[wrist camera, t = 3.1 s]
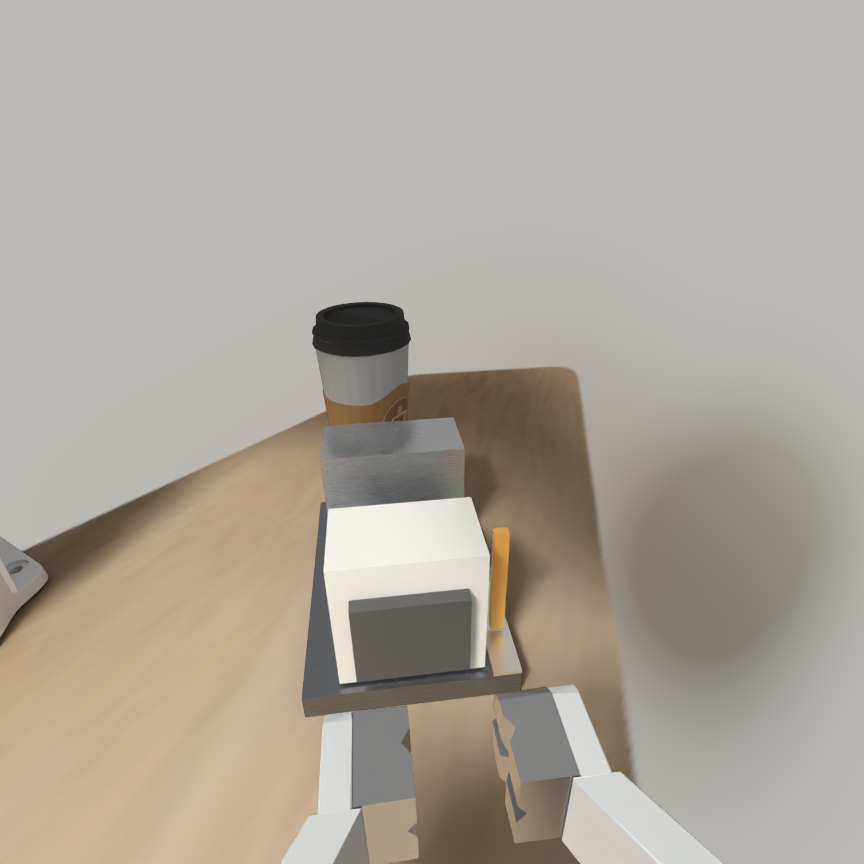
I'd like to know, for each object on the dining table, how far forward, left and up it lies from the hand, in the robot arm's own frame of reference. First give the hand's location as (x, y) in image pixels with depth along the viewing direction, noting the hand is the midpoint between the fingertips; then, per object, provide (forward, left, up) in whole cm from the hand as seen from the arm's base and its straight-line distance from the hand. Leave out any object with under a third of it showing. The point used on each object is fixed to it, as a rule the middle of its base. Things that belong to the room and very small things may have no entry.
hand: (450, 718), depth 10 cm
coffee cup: (-31, +24, -18) cm, 43 cm away
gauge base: (-17, +14, -18) cm, 28 cm away
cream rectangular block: (-11, +11, -16) cm, 23 cm away
